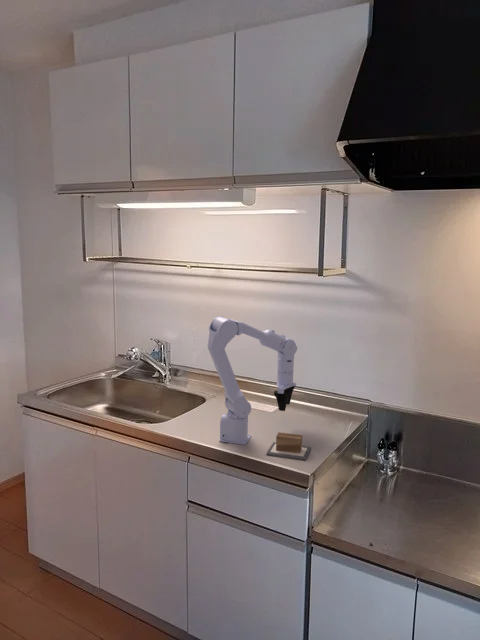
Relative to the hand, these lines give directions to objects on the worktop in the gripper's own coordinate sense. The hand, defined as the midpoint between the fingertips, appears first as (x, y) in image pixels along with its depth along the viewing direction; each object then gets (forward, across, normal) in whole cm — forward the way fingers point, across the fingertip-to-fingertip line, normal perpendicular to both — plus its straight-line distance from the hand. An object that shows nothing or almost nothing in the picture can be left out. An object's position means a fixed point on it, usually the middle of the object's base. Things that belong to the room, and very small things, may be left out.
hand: (284, 407), depth 187 cm
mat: (+9, -17, -6) cm, 20 cm away
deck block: (+9, -17, -6) cm, 20 cm away
